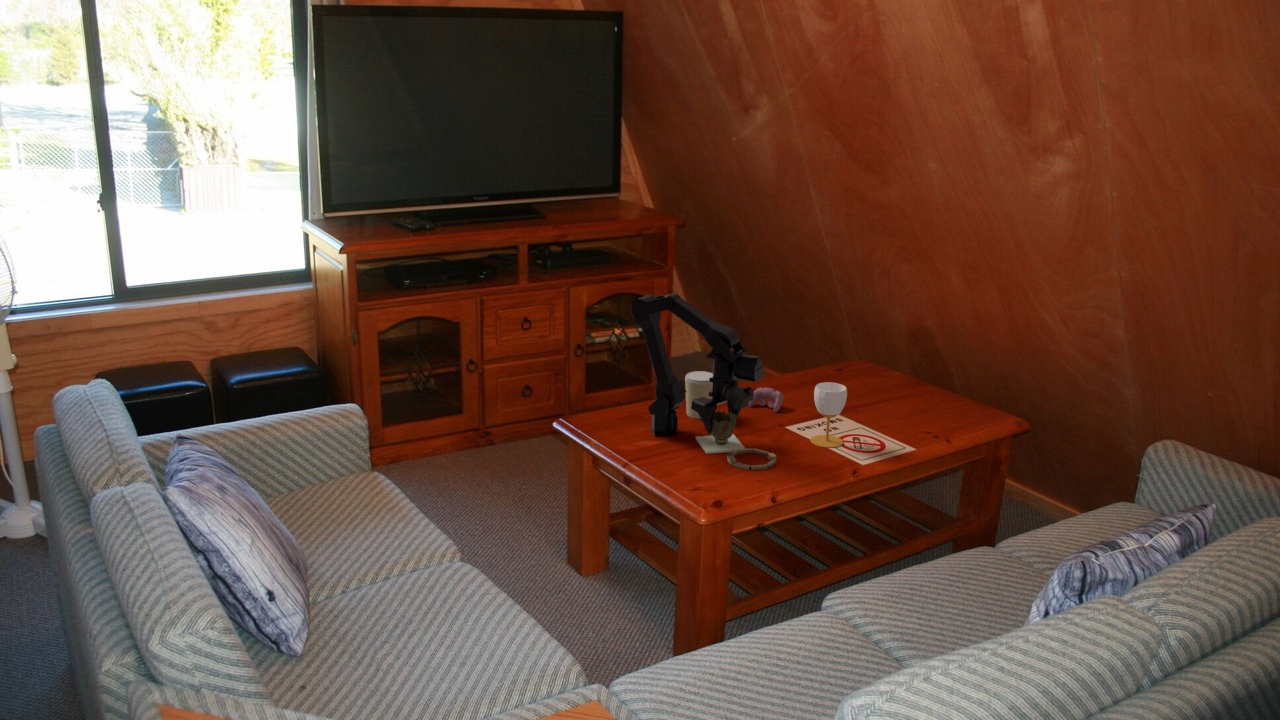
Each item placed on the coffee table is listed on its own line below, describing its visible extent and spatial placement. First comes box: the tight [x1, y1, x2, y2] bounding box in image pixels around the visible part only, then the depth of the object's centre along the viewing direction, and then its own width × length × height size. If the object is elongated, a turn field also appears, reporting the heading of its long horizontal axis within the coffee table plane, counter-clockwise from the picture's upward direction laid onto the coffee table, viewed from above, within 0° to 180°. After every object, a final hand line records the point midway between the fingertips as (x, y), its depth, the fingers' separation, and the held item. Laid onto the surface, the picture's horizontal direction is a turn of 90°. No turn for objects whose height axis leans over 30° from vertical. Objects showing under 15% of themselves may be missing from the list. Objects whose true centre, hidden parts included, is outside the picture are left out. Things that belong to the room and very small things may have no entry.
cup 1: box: [711, 410, 737, 444], centre depth 285 cm, size 8×7×8 cm
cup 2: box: [810, 381, 848, 449], centre depth 288 cm, size 9×9×16 cm
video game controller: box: [748, 387, 785, 413], centre depth 316 cm, size 10×5×7 cm, turn 58°
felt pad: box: [695, 433, 746, 454], centre depth 287 cm, size 11×11×1 cm
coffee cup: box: [684, 370, 713, 420], centre depth 307 cm, size 9×9×12 cm
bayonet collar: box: [726, 447, 778, 471], centre depth 276 cm, size 13×12×1 cm
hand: (720, 429), depth 285 cm, fingers open, 9 cm apart
